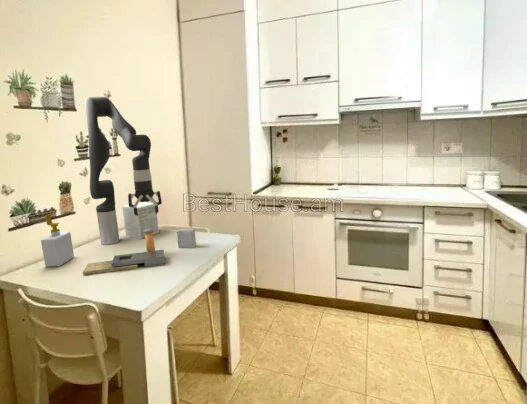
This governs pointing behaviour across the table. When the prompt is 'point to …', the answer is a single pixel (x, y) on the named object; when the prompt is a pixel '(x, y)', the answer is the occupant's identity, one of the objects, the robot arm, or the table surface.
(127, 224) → the supplement box
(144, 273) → the table surface
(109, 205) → the robot arm
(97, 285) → the table surface
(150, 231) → the pin
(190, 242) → the medicine box
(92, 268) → the wooden plank with frame
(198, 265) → the table surface
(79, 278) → the table surface
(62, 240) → the soap bottle
